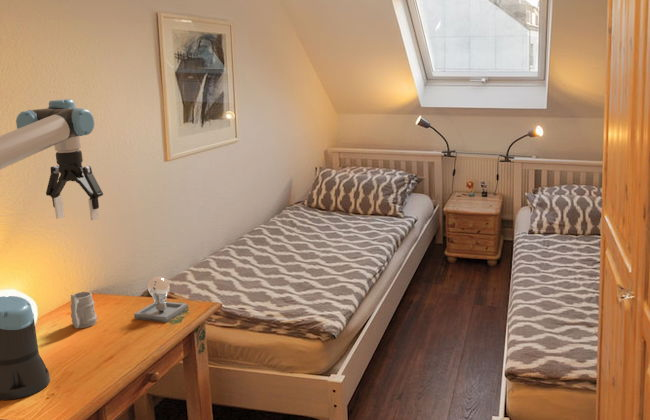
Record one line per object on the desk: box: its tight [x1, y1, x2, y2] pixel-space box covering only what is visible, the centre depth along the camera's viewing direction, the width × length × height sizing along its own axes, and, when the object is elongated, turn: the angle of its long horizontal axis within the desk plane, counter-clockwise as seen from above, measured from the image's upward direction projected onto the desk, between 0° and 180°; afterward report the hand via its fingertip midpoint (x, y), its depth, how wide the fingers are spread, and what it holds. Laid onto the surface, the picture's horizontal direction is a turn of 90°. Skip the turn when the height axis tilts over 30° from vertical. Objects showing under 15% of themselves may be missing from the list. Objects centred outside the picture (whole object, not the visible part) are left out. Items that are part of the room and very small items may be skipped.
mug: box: [70, 291, 98, 329], centre depth 221 cm, size 8×12×12 cm, turn 177°
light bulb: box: [147, 275, 170, 312], centre depth 228 cm, size 7×7×12 cm
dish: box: [133, 301, 189, 323], centre depth 229 cm, size 12×12×2 cm
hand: (77, 218), depth 217 cm, fingers open, 13 cm apart
